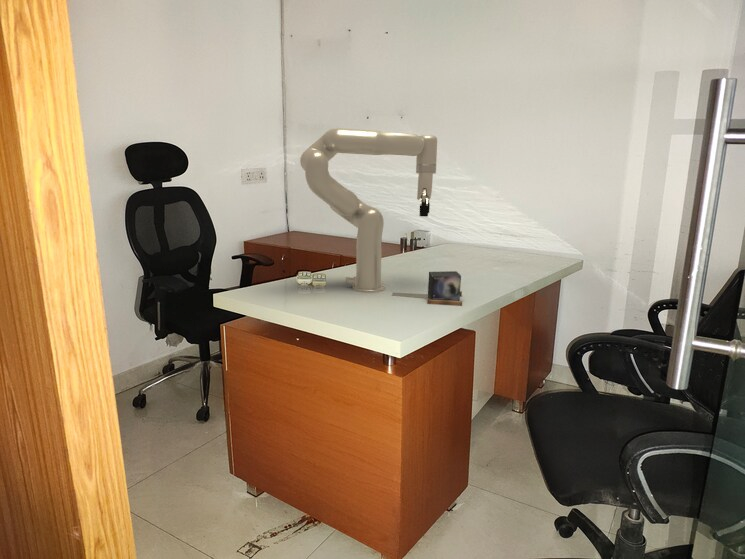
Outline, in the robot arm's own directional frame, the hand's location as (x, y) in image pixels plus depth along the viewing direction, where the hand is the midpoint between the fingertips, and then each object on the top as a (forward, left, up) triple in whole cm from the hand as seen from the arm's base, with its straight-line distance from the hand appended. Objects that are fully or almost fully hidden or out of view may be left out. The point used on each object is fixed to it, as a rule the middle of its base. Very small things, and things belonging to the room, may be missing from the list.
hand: (424, 214), depth 200 cm
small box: (+9, -20, -29) cm, 36 cm away
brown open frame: (+9, -20, -28) cm, 36 cm away
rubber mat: (-4, -20, -28) cm, 35 cm away
